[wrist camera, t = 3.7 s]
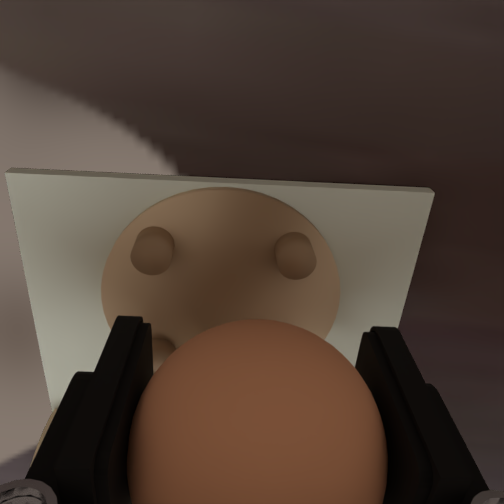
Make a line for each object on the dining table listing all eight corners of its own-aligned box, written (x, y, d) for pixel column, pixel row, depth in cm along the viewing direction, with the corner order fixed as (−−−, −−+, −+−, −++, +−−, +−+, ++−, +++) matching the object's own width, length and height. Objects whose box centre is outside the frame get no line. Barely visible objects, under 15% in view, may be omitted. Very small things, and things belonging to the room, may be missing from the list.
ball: (372, 279, 10) (474, 484, 6) (337, 434, 12) (390, 665, 8) (148, 268, 10) (71, 473, 5) (155, 428, 12) (105, 664, 8)
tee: (357, 193, 12) (368, 209, 11) (320, 384, 15) (327, 410, 14) (91, 180, 11) (79, 196, 10) (113, 381, 14) (105, 408, 14)
